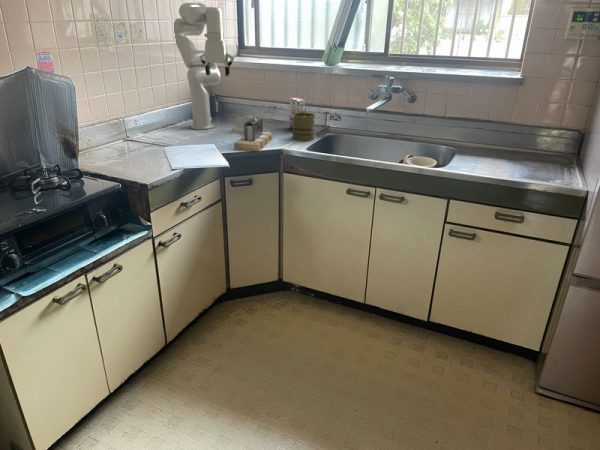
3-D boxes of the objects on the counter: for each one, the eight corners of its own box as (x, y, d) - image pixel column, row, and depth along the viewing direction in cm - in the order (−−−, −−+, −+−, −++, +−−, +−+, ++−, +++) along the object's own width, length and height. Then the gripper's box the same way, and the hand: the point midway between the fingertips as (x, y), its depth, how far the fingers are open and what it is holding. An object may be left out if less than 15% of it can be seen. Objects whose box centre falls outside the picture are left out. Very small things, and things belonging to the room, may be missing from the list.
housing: (244, 140, 210) (243, 123, 207) (253, 133, 222) (252, 117, 219) (254, 140, 209) (254, 123, 206) (262, 134, 222) (262, 117, 218)
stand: (250, 137, 229) (249, 130, 227) (272, 138, 227) (272, 132, 225) (234, 149, 207) (234, 142, 206) (259, 151, 205) (259, 144, 204)
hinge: (231, 131, 240) (235, 112, 238) (237, 132, 244) (241, 114, 242) (253, 136, 230) (257, 117, 229) (259, 137, 234) (263, 118, 232)
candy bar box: (305, 131, 242) (306, 100, 235) (297, 132, 240) (297, 101, 233) (297, 127, 251) (297, 97, 244) (289, 127, 249) (289, 97, 242)
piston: (291, 116, 219) (293, 112, 229) (291, 140, 224) (293, 135, 234) (314, 117, 218) (315, 112, 228) (313, 141, 223) (315, 136, 233)
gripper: (194, 36, 206) (197, 75, 213) (230, 37, 203) (232, 76, 210) (201, 36, 212) (204, 73, 220) (235, 36, 209) (237, 75, 217)
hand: (217, 75), depth 215 cm, fingers open, 9 cm apart
